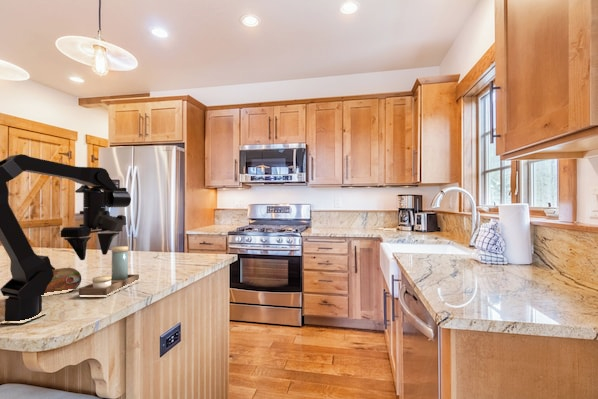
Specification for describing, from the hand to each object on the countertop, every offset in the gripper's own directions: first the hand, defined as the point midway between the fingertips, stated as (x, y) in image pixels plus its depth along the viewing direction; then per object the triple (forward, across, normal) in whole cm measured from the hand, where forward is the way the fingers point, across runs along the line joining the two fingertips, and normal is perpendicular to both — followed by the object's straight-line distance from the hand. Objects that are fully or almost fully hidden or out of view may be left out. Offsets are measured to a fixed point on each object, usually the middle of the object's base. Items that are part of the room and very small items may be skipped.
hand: (94, 257), depth 88 cm
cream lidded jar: (+13, +5, +1) cm, 14 cm away
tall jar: (+13, +14, +1) cm, 19 cm away
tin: (+13, +4, +17) cm, 22 cm away
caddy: (+13, +10, +1) cm, 16 cm away
